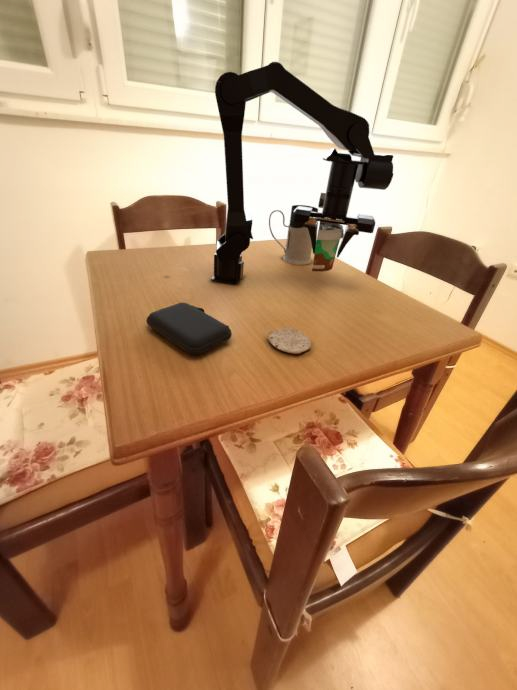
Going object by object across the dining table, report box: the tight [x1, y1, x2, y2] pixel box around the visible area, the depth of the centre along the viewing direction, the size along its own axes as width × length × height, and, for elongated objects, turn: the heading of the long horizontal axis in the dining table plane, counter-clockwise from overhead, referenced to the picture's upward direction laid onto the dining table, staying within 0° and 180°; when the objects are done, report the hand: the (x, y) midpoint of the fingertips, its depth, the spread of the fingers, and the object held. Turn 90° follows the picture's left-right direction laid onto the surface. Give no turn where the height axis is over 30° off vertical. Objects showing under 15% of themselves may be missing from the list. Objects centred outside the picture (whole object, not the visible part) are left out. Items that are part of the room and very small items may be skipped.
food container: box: [311, 221, 345, 273], centre depth 77 cm, size 12×6×10 cm, turn 168°
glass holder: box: [268, 204, 319, 266], centre depth 92 cm, size 9×14×15 cm, turn 89°
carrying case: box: [146, 302, 233, 356], centre depth 56 cm, size 11×3×15 cm
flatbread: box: [267, 327, 312, 355], centre depth 56 cm, size 8×8×1 cm
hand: (325, 255), depth 78 cm, fingers closed on food container, 5 cm apart
